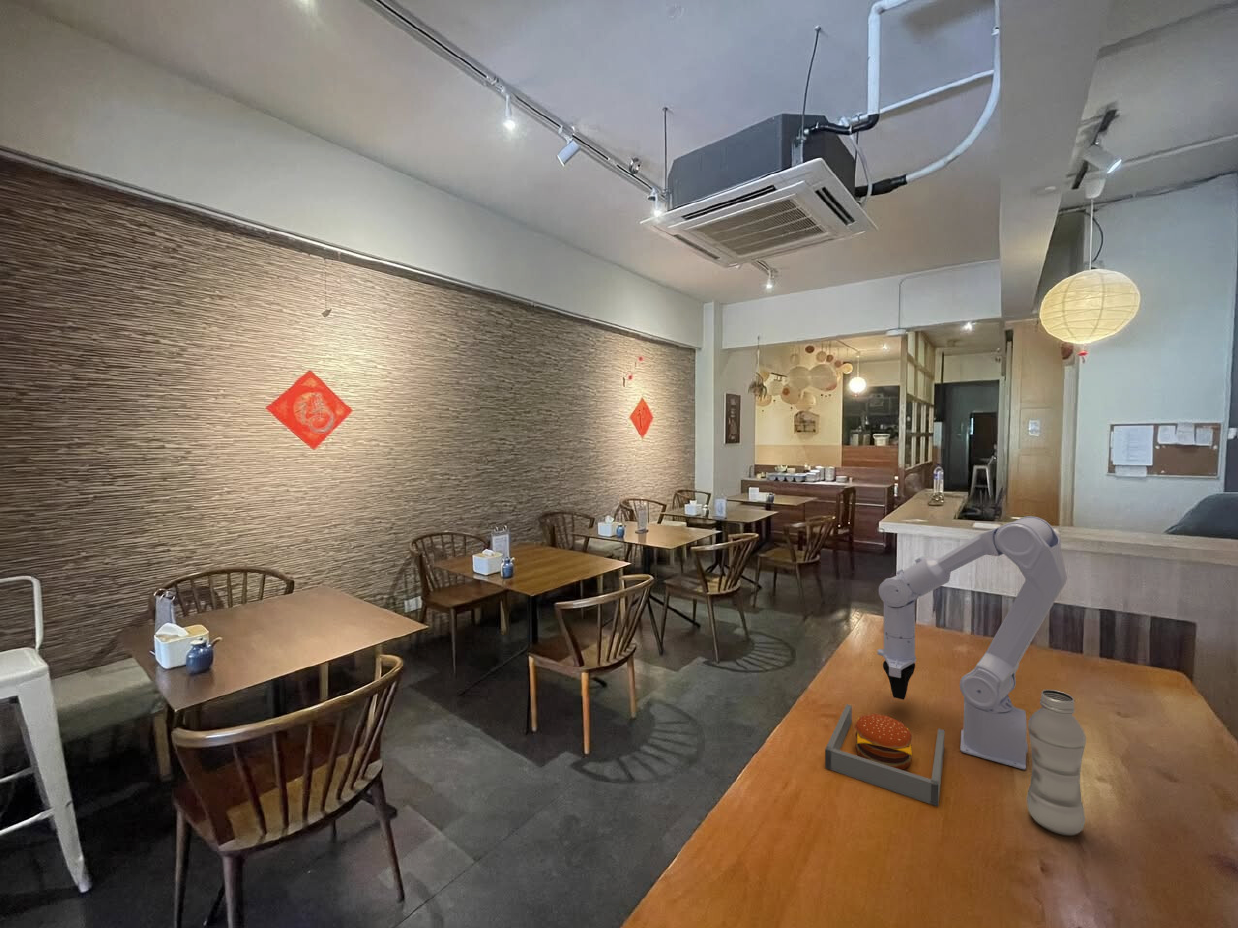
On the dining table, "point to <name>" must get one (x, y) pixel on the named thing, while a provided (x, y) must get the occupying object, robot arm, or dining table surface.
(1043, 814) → the plastic bottle
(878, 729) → the hamburger
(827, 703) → the dining table surface
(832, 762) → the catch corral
